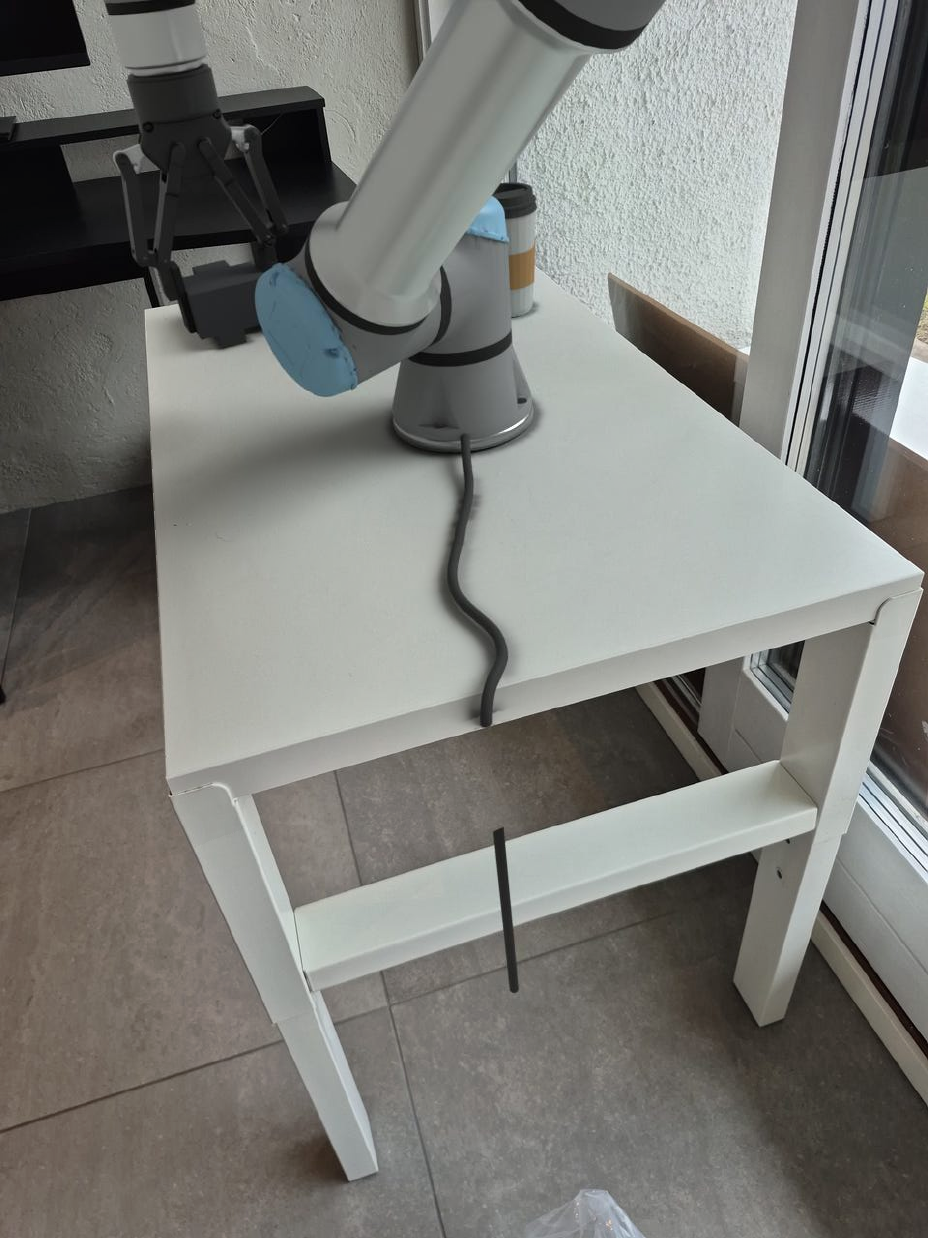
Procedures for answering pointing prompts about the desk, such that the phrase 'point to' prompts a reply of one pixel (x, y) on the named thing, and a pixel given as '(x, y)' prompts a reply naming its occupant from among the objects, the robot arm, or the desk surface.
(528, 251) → the coffee cup
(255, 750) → the desk surface
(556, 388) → the desk surface
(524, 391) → the robot arm
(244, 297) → the pad
